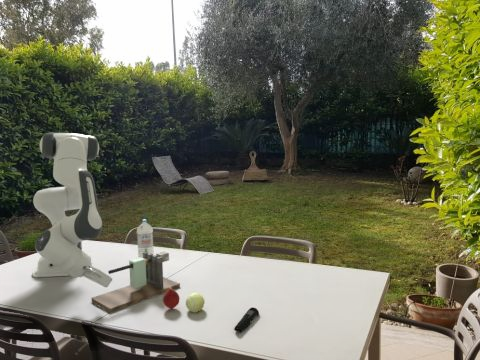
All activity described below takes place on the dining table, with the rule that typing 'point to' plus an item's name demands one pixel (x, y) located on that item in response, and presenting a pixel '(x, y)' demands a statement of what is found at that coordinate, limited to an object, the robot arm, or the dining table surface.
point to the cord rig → (134, 295)
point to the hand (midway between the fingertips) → (105, 283)
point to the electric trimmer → (246, 319)
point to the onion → (171, 298)
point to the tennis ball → (195, 302)
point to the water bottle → (145, 239)
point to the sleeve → (137, 272)
